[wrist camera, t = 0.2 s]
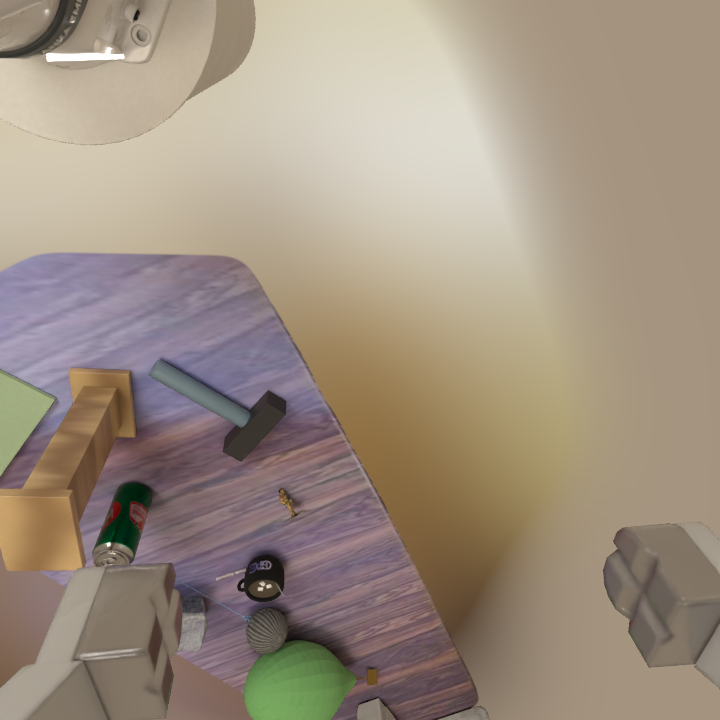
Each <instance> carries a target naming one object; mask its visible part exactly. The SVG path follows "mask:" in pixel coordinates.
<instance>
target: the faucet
mask: <svg viewBox="0 0 720 720" xmlns="http://www.w3.org/2000/svg"><path fill="white" fill-rule="evenodd" d="M357 720H396V719H395V718H394V716H393V715H392V714H391V712H390V711H389V710H388V708H387V707H385V706H384V704H383V703H382V702H381V700H380V699H379V698H378V699H375V700H372V701H369V702H366V703H363V704H360V705H358V711H357ZM438 720H490V719H489V715H488V713H487V711H486V709H485V708H483V707H481V706H477V707H474V708H471V709H468V710H465V711H462V712H459V713H456V714H453V715H450V716H447V717H444V718H441V719H438Z"/></svg>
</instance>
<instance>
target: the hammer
mask: <svg viewBox="0 0 720 720" xmlns="http://www.w3.org/2000/svg"><path fill="white" fill-rule="evenodd" d="M149 376H150V377H152V378H154V379H156V380H157V381H159V382H161V383H163V384H164V385H166V386H168V387H170V388H171V389H173V390H175V391H177V392H179V393H180V394H182V395H184V396H186V397H187V398H189V399H191V400H193V401H194V402H196V403H198V404H200V405H201V406H203V407H205V408H207V409H209V410H210V411H212V412H214V413H216V414H217V415H219V416H221V417H223V418H224V419H226V420H228V421H230V422H232V423H233V424H235V425H236V426H235V427H234V429H233V430H232V431H231V432H230V433H229V434H228V435H227V436H226V437H225V441H224V447H223V452H224V453H226V454H228V455H230V456H231V457H233V458H235V459H237V460H239V461H242V460H243V459H244V458H245V457H246V456H247V455H248V454H249V453H250V452H251V451H252V450H253V449H254V448H255V447H256V445H257V444H258V443H259V442H260V441H261V440H262V439H263V438H264V437H265V436H266V435H267V434H268V433H269V432H270V431H271V430H272V428H273V427H274V426H275V425H276V424H277V423H278V422H279V421H280V420H281V419H282V418H283V417H284V416H285V415H286V401H285V400H283V399H281V398H280V397H278V396H277V395H275V394H273V393H272V392H270V391H267V392H266V393H265V394H264V395H263V397H262V398H261V399H260V400H259V401H258V402H257V403H256V404H255V405H254V407H253V408H252V409H251V410H250V411H247V410H246V409H244V408H242V407H241V406H239V405H237V404H236V403H234V402H232V401H230V400H229V399H227V398H225V397H224V396H222V395H220V394H218V393H217V392H215V391H213V390H212V389H210V388H208V387H206V386H205V385H203V384H201V383H200V382H198V381H196V380H195V379H193V378H191V377H189V376H188V375H186V374H184V373H183V372H181V371H179V370H177V369H176V368H174V367H172V366H171V365H169V364H167V363H165V362H164V361H162V360H158V361H157V363H156V364H155V365H154V367H153V368H152V370H151V372H150V374H149Z"/></svg>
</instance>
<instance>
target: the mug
mask: <svg viewBox="0 0 720 720" xmlns="http://www.w3.org/2000/svg"><path fill="white" fill-rule="evenodd" d="M244 570H245V571H243V569H242V570H240V573H241V572H245V578H244V579H242V580H240V581H239V583H238V586H237V588H238V590H239V591H241V592H244V591H245V593H246V595H247V596H248V597H249V598H250V599H252V600H254V601H257V602H268V601H272V600H274V599H276V598H278V597H279V596H280V595H281V593H282V591H283V588H284V569H283V566H282V564H281V562H280V561H279V560H278V559H277V558H275V557H273V556H269V555H262V556H258V557H256V558H255V559H253V560H252V561H251V562H250V564H249V565H248V567H247V569H246V568H244ZM233 573H234V572H232V576H233V575H234V574H233ZM237 573H239V571H238V572H237V571H235V574H237ZM227 575H228V576H230V575H231V573H228V574H227ZM227 575H223V576H222V577H221V576H220V577H221V578H224V577H226V576H227ZM228 576H227V577H228ZM221 578H218V577H217V579H216V580H217V581H218V580H219V579H221ZM243 582H244V588H241V584H242V583H243ZM282 595H283V593H282ZM283 597H284V595H283Z"/></svg>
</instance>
